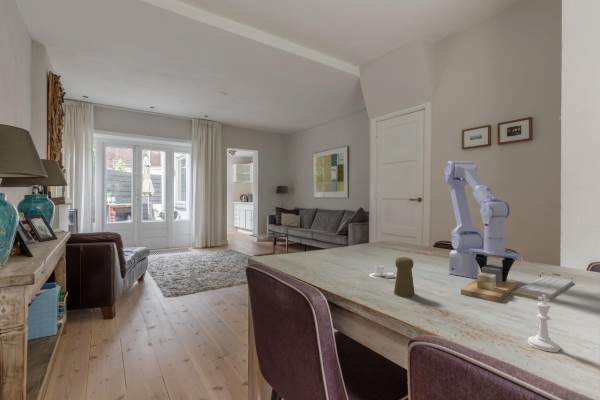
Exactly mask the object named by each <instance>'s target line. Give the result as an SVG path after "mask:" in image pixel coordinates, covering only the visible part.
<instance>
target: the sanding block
mask: <svg viewBox="0 0 600 400" xmlns="http://www.w3.org/2000/svg"><path fill="white" fill-rule="evenodd" d="M482 273H488V274H494V275H496V286H501V285H502V284H504V283H505V282H503V279H502V277H503V266H502V264H496V263H488V264H487V265H486V266H484V267H482Z"/></svg>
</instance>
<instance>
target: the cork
mask: <svg viewBox="0 0 600 400" xmlns="http://www.w3.org/2000/svg"><path fill="white" fill-rule="evenodd" d="M394 263H395V267H396V276H395V282H394V291H393V294H394V295H395V296H398V297H401V298H412V297H415V296H416V294H415V293H416V292H415V286H414V285H415V283H414V278H413V272H412V270H413V267H414V261H413V259H412V258H410V257H405V256H402V257H400V256H399V257H397V258H396V260H395V262H394Z"/></svg>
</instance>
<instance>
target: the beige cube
mask: <svg viewBox="0 0 600 400" xmlns="http://www.w3.org/2000/svg"><path fill="white" fill-rule="evenodd" d="M476 280H477V288H481V289H486V290H491V291H493V290H494V289H495V288H496V275H494V274H488V273H481V272H479V274H478V275H477V278H476Z"/></svg>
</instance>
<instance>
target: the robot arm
mask: <svg viewBox="0 0 600 400" xmlns="http://www.w3.org/2000/svg"><path fill="white" fill-rule="evenodd" d="M443 171H444V178H445V182H446V184H447V185H448V186H449V191H450V193H449V194H450V197H451V202H452V207H453V212H454V216H455V222H456V226H455V228H454V229H452V231H451V233H450V234H451V240H450V241H451V242H450V243H451V245H452V248H453V249H452V250H450V253H449V255H448V256H449V263H448V269H449V270H448V274H449V275H454V276H460V277H461V276H462V277H465V278H471V279H477V275H478V274H479V273H482V267H484V266H486V265H488V264H487V263H488V257H489V258H497V259H498V258H499V259H502V260H501V263H502V264H501V265H502V266H503V277H502V279H503V282H506V281H507V280H508V275H509V272H510V271H511V268H512V266H513V265H514V263H515V260H516V261H519V262H521V261H523V253H519V252H518V253H517V252H510V251H506V219H507V218H508V217H509V215H510V214H511V213H510V212H511V208H510V205H509V203H508V201H506V200H502V199H500V198H499V197H498V196H497V195H496V193H495V192H494V191H493V189H492V187H491V186H490V185H487V184H485V183H483V181H482V180H481V177H480V176H479V173H478V165H476V162H475V161H474V160H469V161H468V160H467V161H466V160H461V161H460V160H448V161H447V162H446V163H445V166H444V169H443ZM467 185H469V187H471V188H472V190H473V191H472V196H473V197H474V199H475V200H476V202H477V203H478V205H479V206H480V209H479V212H480V215H481V219H482V224H484V227H483V228H484V229H483V234H484V235H482V233H481V230H480V228H478V227H476V226H475V225H474V224H473V221H472V216H471V211H470V208H469V202H468V198H467V195H466V193H467V192H466V189H465V186H467ZM479 269H480V270H479ZM479 271H480V272H479Z"/></svg>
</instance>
